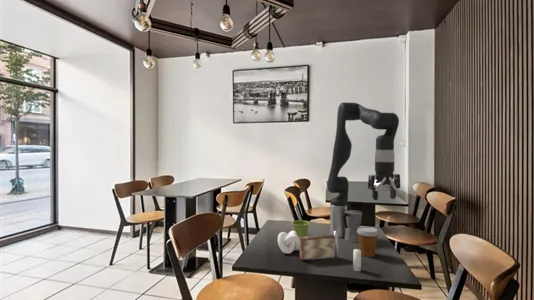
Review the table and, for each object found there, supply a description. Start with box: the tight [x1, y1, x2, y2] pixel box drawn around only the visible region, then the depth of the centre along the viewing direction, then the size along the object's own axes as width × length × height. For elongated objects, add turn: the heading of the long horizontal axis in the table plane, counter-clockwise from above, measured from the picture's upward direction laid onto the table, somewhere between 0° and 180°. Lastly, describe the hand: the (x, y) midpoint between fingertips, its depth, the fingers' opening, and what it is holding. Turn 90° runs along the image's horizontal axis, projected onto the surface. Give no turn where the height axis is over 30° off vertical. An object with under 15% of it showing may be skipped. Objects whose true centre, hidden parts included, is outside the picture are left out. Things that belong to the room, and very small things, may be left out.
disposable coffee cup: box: [357, 226, 379, 258], centre depth 136 cm, size 10×10×12 cm
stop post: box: [352, 248, 362, 272], centre depth 119 cm, size 3×3×8 cm
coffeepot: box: [343, 206, 363, 243], centre depth 156 cm, size 15×9×18 cm, turn 129°
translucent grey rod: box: [333, 231, 339, 259], centre depth 132 cm, size 2×2×12 cm
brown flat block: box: [299, 234, 334, 260], centre depth 131 cm, size 16×2×10 cm, turn 102°
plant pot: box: [291, 220, 310, 238], centre depth 159 cm, size 9×9×9 cm
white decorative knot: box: [277, 230, 300, 255], centre depth 140 cm, size 11×12×9 cm
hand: (384, 199), depth 122 cm, fingers open, 8 cm apart
